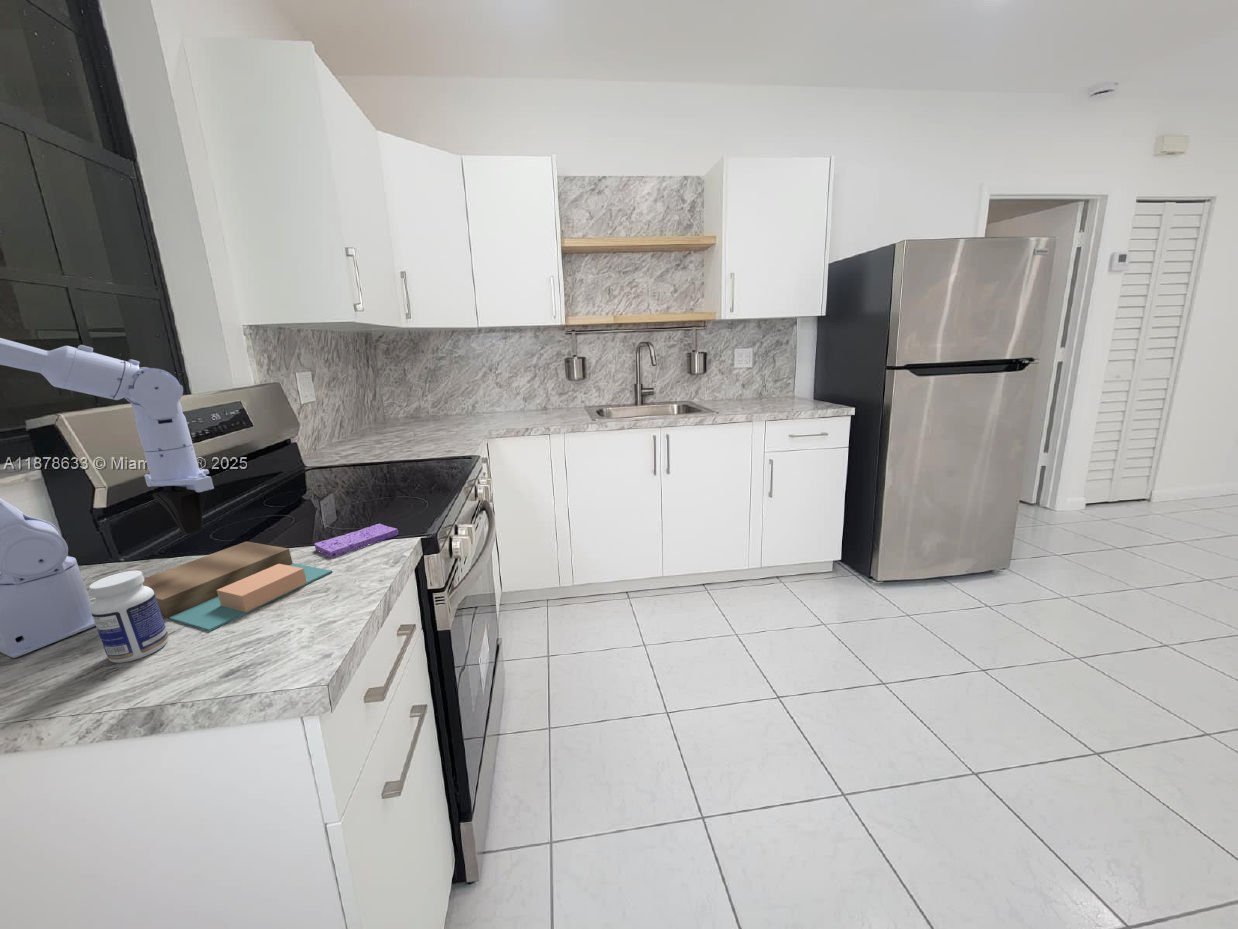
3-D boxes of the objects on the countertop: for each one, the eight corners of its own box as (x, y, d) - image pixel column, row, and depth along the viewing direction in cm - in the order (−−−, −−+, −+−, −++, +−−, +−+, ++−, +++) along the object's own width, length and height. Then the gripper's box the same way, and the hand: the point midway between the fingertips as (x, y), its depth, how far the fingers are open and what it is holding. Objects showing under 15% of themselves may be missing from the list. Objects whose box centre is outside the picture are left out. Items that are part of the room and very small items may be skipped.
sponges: (315, 552, 93) (313, 543, 92) (382, 530, 102) (380, 521, 102) (332, 561, 88) (329, 551, 88) (399, 537, 98) (398, 528, 97)
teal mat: (209, 631, 67) (209, 629, 66) (169, 619, 70) (169, 617, 70) (332, 572, 82) (332, 570, 82) (294, 565, 86) (293, 563, 86)
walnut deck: (168, 618, 71) (162, 599, 70) (124, 605, 75) (118, 587, 75) (292, 564, 86) (289, 548, 86) (250, 556, 91) (246, 541, 91)
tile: (216, 590, 72) (220, 605, 73) (241, 596, 70) (246, 612, 70) (278, 563, 80) (282, 577, 81) (303, 568, 78) (306, 583, 78)
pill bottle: (167, 632, 67) (146, 564, 65) (172, 648, 63) (149, 576, 61) (108, 652, 63) (82, 580, 61) (109, 671, 59) (81, 595, 57)
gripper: (225, 443, 77) (246, 526, 80) (173, 441, 83) (195, 518, 86) (170, 454, 71) (196, 543, 74) (118, 450, 77) (144, 533, 80)
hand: (192, 531), depth 80 cm, fingers closed
